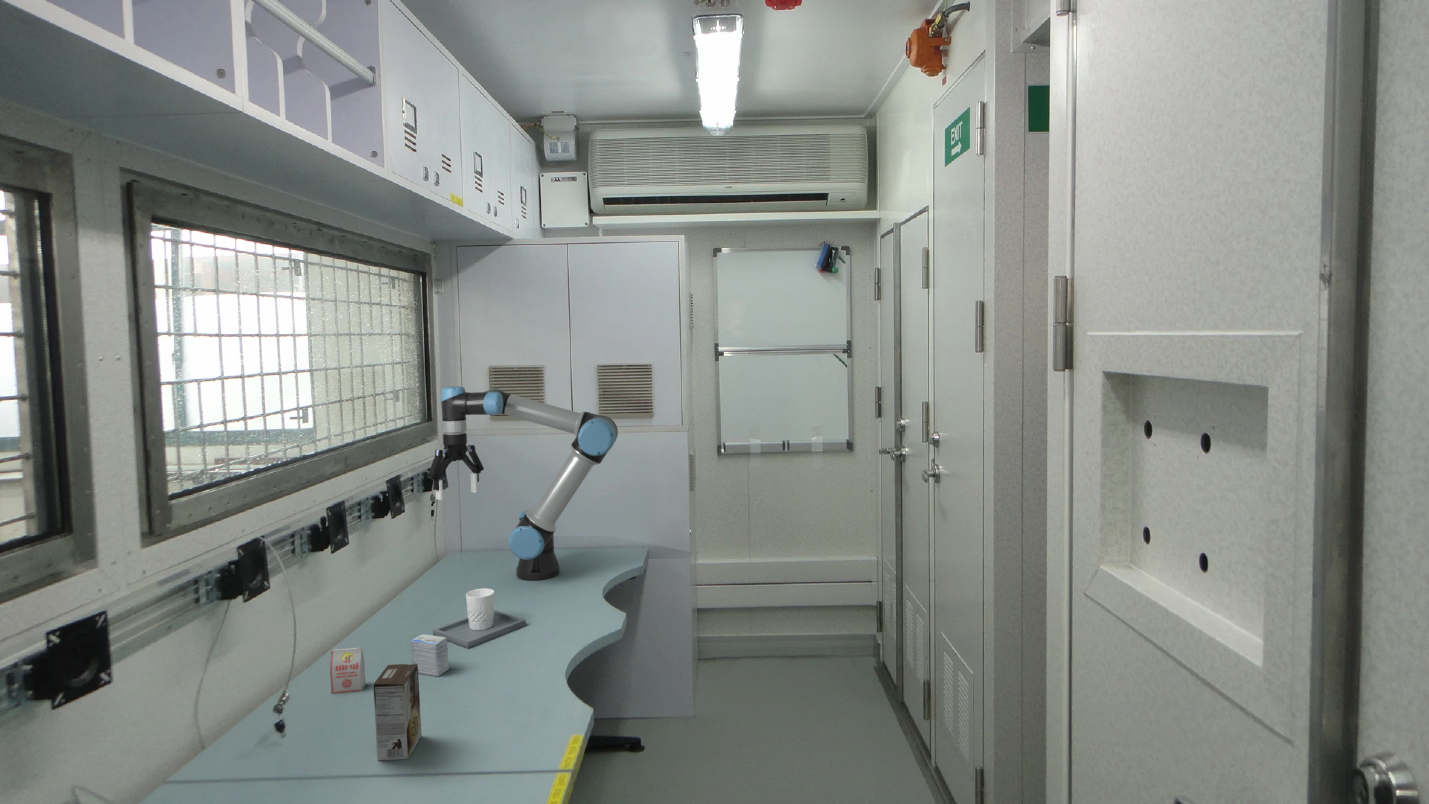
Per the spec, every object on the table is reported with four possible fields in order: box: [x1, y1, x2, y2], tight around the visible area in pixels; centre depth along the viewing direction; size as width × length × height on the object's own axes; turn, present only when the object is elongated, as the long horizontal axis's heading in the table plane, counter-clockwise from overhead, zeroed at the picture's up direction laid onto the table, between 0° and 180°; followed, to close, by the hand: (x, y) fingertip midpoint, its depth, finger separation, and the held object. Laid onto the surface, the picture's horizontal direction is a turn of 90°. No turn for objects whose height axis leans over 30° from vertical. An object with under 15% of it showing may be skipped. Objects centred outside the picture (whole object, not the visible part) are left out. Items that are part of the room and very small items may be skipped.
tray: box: [432, 609, 527, 650], centre depth 218 cm, size 20×16×2 cm
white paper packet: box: [329, 647, 367, 695], centre depth 182 cm, size 4×7×10 cm, turn 100°
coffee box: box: [372, 663, 422, 761], centre depth 155 cm, size 9×6×16 cm
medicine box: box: [410, 633, 450, 677], centre depth 191 cm, size 8×4×9 cm, turn 71°
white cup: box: [465, 587, 495, 630], centre depth 220 cm, size 8×8×10 cm
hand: (457, 495), depth 253 cm, fingers open, 13 cm apart
